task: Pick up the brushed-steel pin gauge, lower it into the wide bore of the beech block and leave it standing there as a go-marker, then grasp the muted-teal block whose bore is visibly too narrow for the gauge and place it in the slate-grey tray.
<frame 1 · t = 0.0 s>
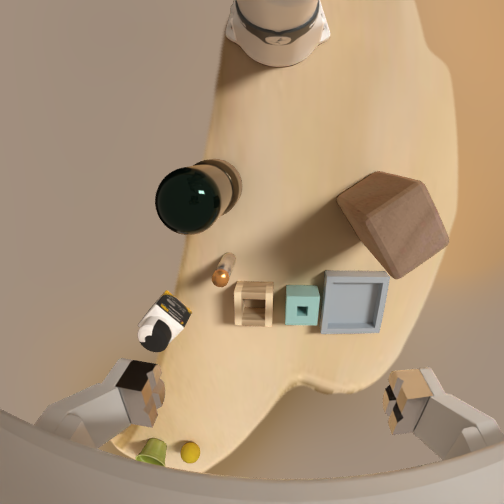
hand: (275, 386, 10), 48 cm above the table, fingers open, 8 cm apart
wide bore block: (255, 297, 62), on the table
pin gauge: (229, 259, 60), on the table
plant pot: (158, 443, 81), on the table
tray: (352, 299, 61), on the table
medicine bottle: (170, 310, 65), on the table
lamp: (217, 185, 56), on the table
narrow bore block: (300, 299, 61), on the table
block: (369, 205, 55), on the table
lemon: (193, 442, 79), on the table
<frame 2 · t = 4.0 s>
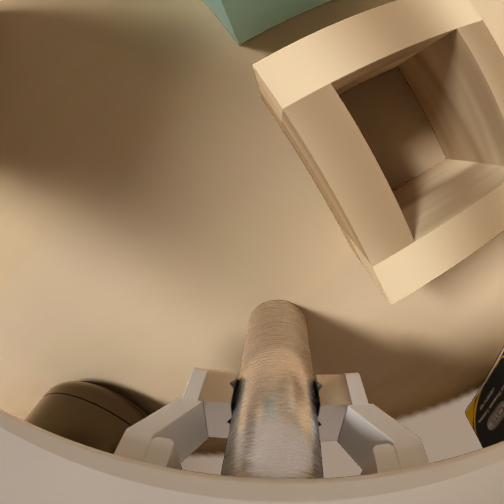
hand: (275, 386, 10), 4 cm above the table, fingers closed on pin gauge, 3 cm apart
wide bore block: (384, 133, 11), on the table
pin gauge: (277, 325, 14), on the table, touching gripper
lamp: (113, 421, 18), on the table
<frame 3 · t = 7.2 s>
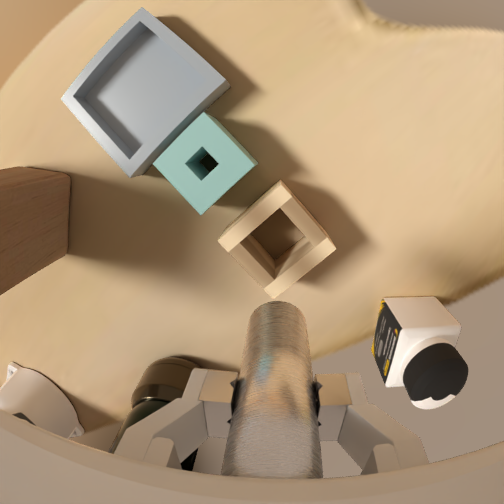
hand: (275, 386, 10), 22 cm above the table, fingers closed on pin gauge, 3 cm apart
wide bore block: (277, 230, 31), on the table
pin gauge: (277, 326, 14), point 18 cm above the table, touching gripper
tray: (145, 91, 27), on the table
medicine bottle: (402, 322, 33), on the table
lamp: (182, 379, 38), on the table
narrow bore block: (213, 161, 29), on the table
block: (43, 208, 32), on the table
when the fingers open (6 cm above the table, at t = 10.7 s): pin gauge drops 2 cm, resting in wide bore block.
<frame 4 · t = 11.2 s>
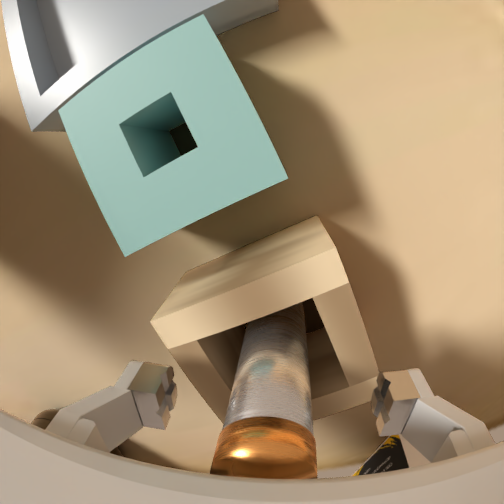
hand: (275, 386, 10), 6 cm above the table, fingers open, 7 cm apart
wide bore block: (278, 305, 16), on the table
pin gauge: (277, 306, 16), resting in wide bore block
medicine bottle: (403, 453, 20), on the table
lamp: (85, 436, 22), on the table
narrow bore block: (196, 139, 14), on the table
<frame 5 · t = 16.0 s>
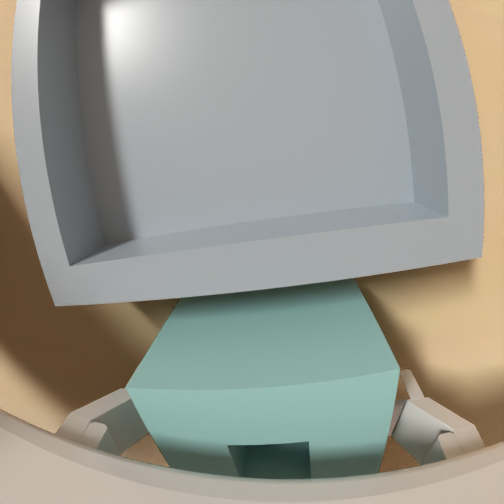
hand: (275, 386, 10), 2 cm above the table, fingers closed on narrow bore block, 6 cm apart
tray: (228, 63, 8), on the table
narrow bore block: (276, 357, 12), on the table, touching gripper
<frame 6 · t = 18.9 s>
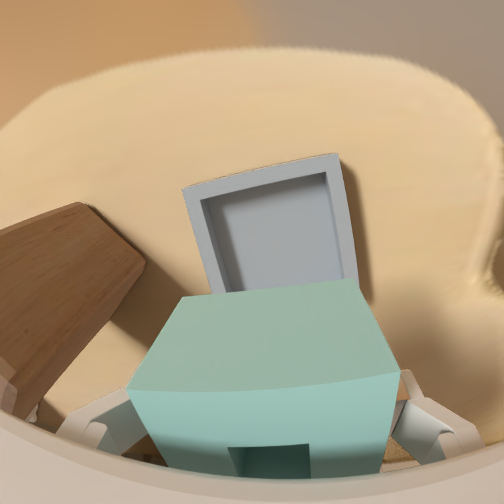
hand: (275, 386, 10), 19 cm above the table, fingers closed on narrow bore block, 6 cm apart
tray: (276, 236, 28), on the table
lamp: (164, 439, 39), on the table
narrow bore block: (276, 358, 12), point 17 cm above the table, touching gripper
block: (95, 261, 30), on the table
when the fingers open (4 cm above the table, at t = 21.9 s): narrow bore block drops 2 cm, resting on tray.
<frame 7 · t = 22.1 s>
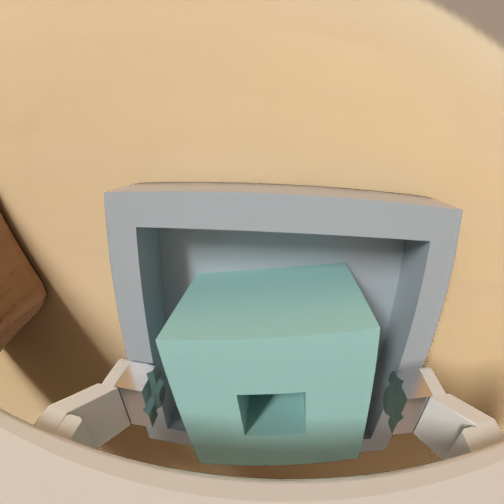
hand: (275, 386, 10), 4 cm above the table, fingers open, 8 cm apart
tray: (278, 322, 14), on the table
narrow bore block: (276, 332, 13), point 1 cm above the table, touching tray
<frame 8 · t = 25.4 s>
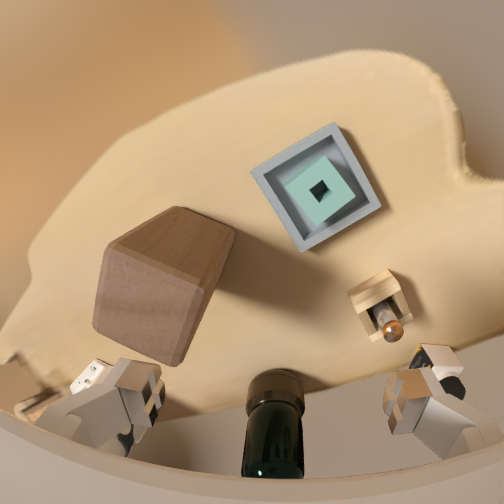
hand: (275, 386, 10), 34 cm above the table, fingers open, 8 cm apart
wide bore block: (375, 298, 45), on the table
pin gauge: (375, 298, 45), resting in wide bore block
tray: (315, 185, 41), on the table
medicine bottle: (426, 359, 49), on the table
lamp: (276, 385, 52), on the table
narrow bore block: (315, 186, 40), point 1 cm above the table, touching tray
block: (194, 246, 45), on the table
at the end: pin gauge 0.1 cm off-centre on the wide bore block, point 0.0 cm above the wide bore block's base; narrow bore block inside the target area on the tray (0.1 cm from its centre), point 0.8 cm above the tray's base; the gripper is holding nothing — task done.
